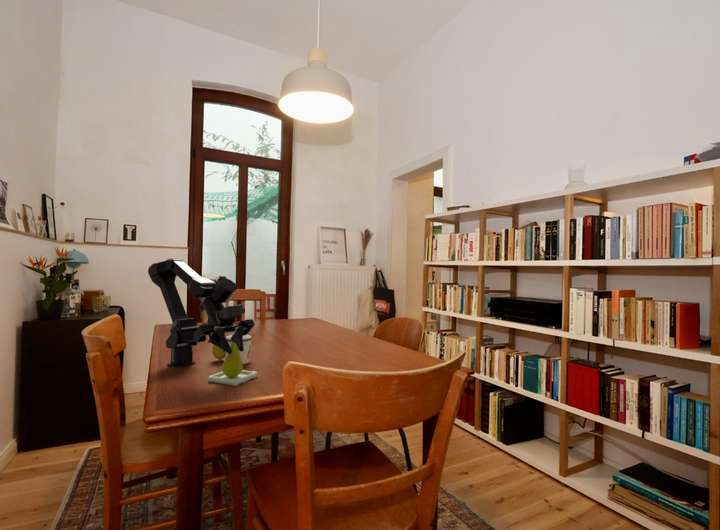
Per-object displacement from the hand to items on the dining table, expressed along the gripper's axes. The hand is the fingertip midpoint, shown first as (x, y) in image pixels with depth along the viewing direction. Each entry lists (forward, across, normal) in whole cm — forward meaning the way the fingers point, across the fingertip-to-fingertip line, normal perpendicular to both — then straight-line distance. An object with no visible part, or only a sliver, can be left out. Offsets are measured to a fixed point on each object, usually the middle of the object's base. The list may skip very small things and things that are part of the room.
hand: (236, 352), depth 112 cm
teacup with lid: (-7, +14, +19) cm, 25 cm away
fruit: (+4, 0, +7) cm, 8 cm away
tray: (+5, 0, +7) cm, 9 cm away
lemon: (-11, +11, +23) cm, 27 cm away
